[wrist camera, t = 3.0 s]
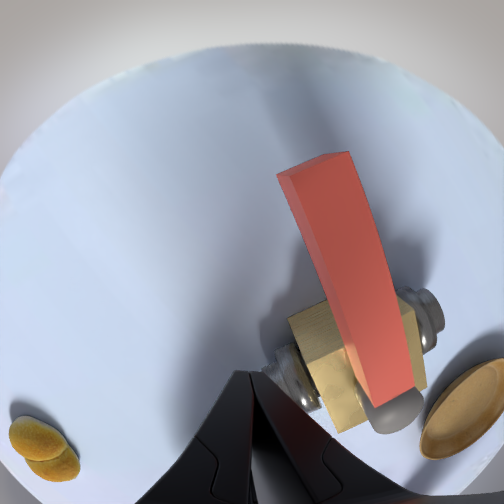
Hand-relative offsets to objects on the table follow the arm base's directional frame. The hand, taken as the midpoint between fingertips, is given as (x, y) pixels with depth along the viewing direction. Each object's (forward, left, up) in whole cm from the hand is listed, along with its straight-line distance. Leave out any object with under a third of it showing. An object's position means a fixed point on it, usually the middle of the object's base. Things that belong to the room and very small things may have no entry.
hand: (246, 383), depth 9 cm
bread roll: (-28, -10, -14) cm, 33 cm away
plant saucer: (+16, -27, -14) cm, 34 cm away
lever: (+5, -3, -7) cm, 9 cm away
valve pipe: (+5, -9, -13) cm, 17 cm away
